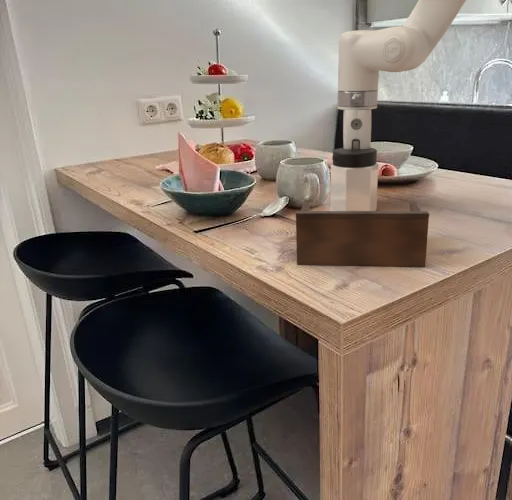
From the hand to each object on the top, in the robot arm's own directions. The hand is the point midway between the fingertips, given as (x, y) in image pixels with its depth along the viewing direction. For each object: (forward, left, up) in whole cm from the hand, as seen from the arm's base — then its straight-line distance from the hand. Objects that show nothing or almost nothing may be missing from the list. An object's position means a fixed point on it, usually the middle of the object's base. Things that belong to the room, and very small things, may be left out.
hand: (353, 193), depth 102 cm
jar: (0, +6, -2) cm, 7 cm away
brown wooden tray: (-1, +28, -2) cm, 28 cm away
